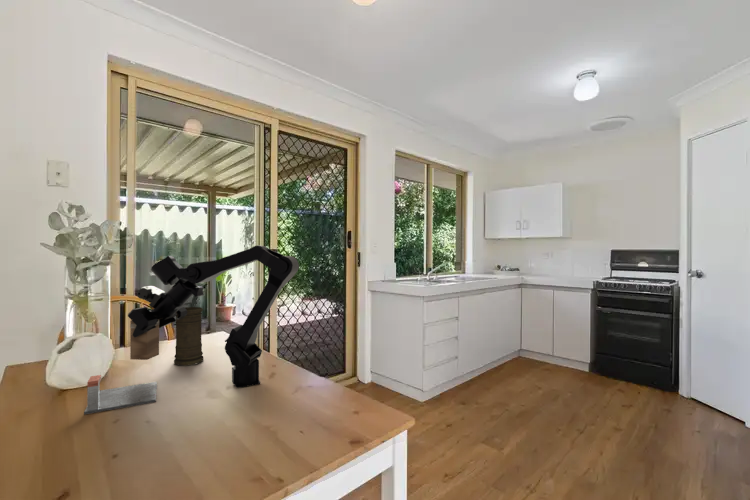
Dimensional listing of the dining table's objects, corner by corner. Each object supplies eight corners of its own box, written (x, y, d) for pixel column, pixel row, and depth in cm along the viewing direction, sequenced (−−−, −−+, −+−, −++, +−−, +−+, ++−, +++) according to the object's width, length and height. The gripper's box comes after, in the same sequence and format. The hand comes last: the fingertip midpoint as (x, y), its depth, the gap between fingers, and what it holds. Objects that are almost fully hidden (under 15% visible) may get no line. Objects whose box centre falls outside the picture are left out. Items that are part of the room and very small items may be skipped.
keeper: (156, 383, 101) (156, 358, 101) (155, 401, 89) (155, 372, 89) (94, 393, 94) (94, 366, 94) (84, 414, 82) (84, 383, 82)
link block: (159, 354, 107) (159, 317, 107) (147, 359, 101) (147, 320, 101) (142, 354, 107) (142, 317, 107) (130, 359, 102) (130, 320, 102)
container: (195, 366, 117) (195, 310, 117) (167, 366, 117) (168, 310, 117) (208, 357, 126) (208, 306, 126) (183, 357, 126) (183, 306, 126)
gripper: (178, 274, 113) (144, 309, 114) (134, 279, 95) (94, 320, 95) (202, 299, 113) (168, 334, 113) (163, 309, 94) (123, 350, 95)
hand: (140, 334), depth 104 cm, fingers closed on link block, 5 cm apart
